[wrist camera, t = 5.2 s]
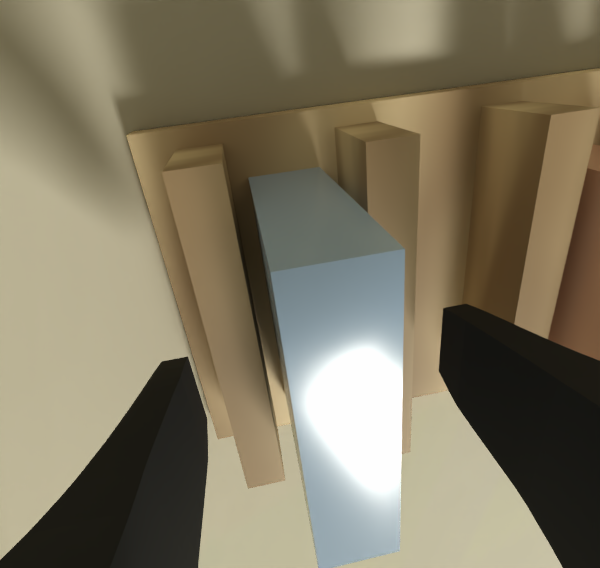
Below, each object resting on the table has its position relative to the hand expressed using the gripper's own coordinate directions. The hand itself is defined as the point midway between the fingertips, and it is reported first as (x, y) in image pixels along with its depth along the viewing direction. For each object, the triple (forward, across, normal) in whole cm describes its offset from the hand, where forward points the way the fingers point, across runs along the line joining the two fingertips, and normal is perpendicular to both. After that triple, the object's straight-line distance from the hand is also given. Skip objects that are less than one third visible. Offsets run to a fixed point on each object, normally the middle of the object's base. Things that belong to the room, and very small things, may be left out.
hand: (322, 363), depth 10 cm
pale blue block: (+3, 0, 0) cm, 3 cm away
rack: (+4, -4, 0) cm, 6 cm away
